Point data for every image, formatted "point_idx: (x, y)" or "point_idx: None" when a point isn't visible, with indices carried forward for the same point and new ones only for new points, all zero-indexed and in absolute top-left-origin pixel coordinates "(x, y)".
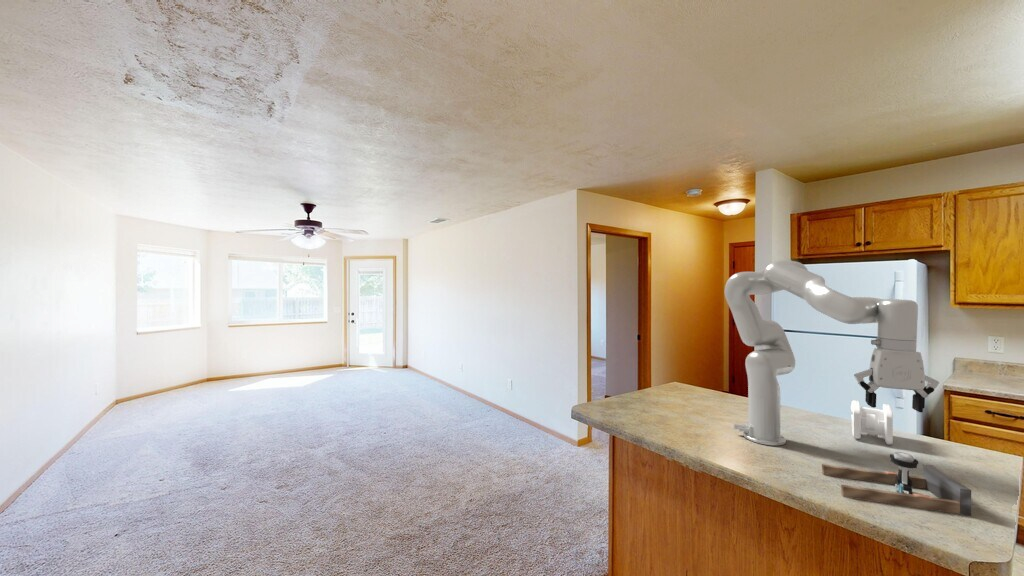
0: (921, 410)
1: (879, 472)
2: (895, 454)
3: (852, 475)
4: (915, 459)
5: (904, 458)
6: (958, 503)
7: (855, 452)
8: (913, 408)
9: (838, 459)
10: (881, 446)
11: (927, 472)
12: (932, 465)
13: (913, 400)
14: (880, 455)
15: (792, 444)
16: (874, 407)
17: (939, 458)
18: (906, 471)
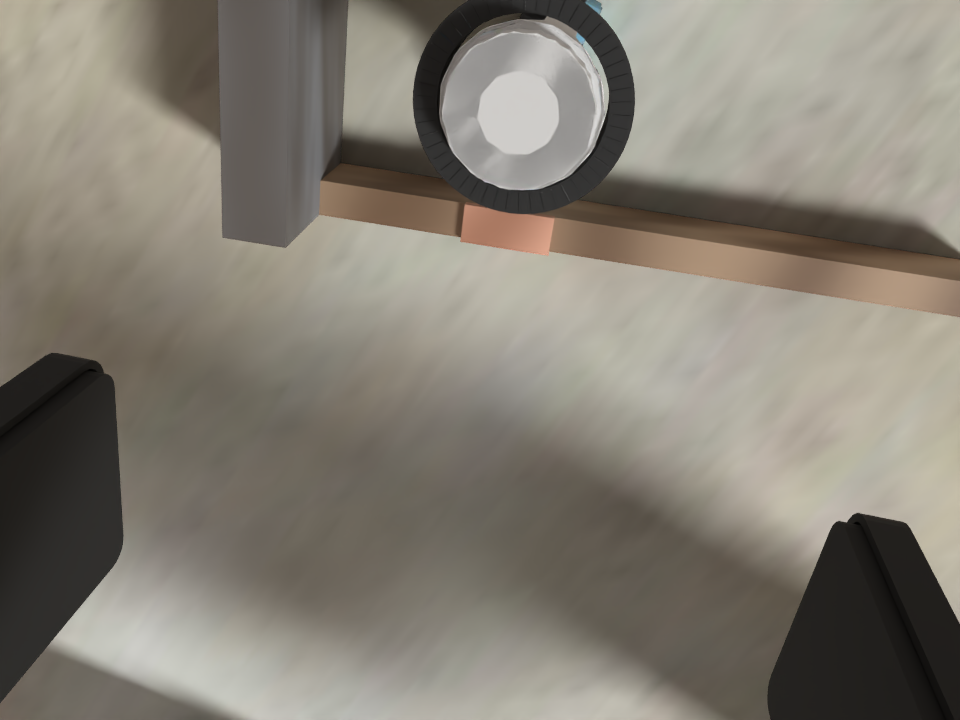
0: (57, 367)
1: (597, 242)
2: (595, 117)
3: (780, 240)
4: (417, 105)
5: (558, 40)
6: None
7: (453, 631)
8: (116, 527)
9: (645, 525)
10: (241, 716)
11: (301, 176)
12: (223, 237)
13: (16, 651)
14: (322, 606)
15: None
16: (862, 516)
17: None
18: (551, 20)
